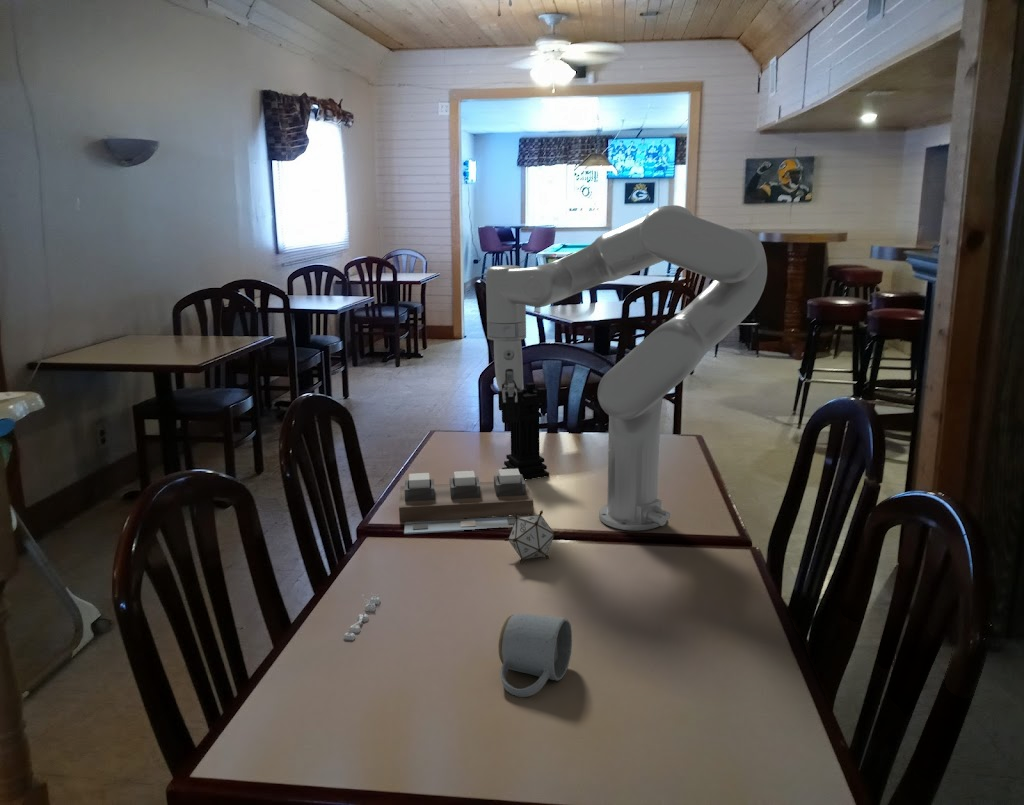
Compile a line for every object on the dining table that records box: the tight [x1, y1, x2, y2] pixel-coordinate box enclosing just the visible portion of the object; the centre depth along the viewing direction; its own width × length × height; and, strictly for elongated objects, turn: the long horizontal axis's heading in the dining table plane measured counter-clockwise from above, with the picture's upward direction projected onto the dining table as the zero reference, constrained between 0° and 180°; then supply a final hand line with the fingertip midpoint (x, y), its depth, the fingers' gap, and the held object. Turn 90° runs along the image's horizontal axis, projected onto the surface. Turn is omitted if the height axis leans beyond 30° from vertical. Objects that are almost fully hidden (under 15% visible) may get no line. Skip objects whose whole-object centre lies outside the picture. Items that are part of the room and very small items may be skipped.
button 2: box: [497, 468, 520, 484], centre depth 162 cm, size 4×4×2 cm
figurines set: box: [343, 590, 382, 641], centre depth 119 cm, size 12×3×3 cm, turn 169°
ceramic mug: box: [498, 613, 573, 698], centre depth 103 cm, size 11×8×8 cm
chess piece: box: [501, 382, 550, 480], centre depth 179 cm, size 8×8×20 cm
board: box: [398, 474, 534, 535], centre depth 158 cm, size 18×26×5 cm
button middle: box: [453, 470, 476, 486], centre depth 161 cm, size 4×4×2 cm
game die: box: [503, 509, 560, 565], centre depth 138 cm, size 9×8×10 cm
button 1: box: [408, 472, 430, 489], centre depth 160 cm, size 4×4×2 cm
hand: (508, 415), depth 159 cm, fingers open, 9 cm apart
